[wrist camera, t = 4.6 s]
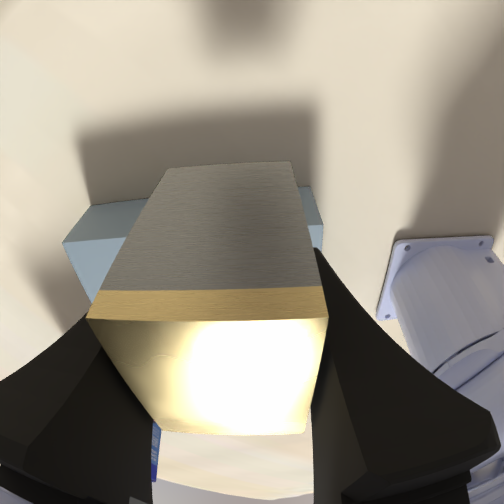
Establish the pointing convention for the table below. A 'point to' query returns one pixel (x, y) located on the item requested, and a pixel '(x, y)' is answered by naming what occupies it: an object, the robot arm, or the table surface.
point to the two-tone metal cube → (218, 302)
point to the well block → (118, 227)
